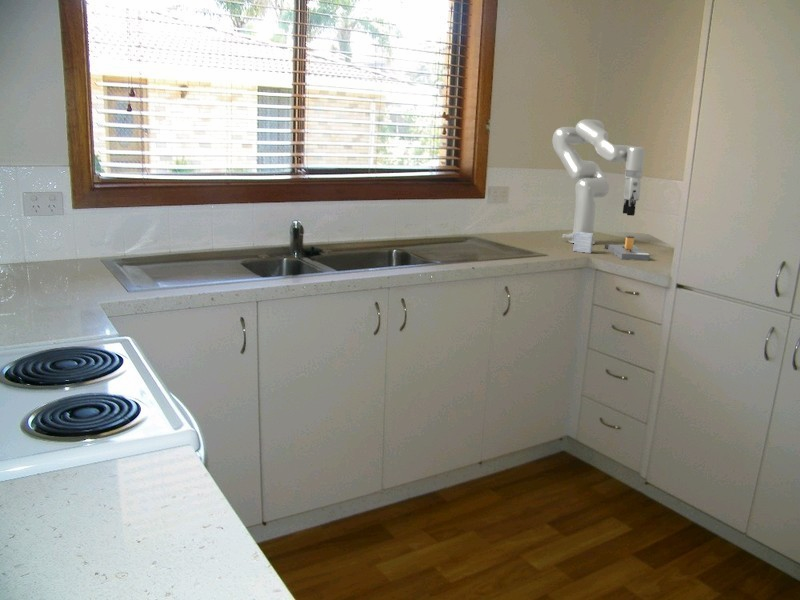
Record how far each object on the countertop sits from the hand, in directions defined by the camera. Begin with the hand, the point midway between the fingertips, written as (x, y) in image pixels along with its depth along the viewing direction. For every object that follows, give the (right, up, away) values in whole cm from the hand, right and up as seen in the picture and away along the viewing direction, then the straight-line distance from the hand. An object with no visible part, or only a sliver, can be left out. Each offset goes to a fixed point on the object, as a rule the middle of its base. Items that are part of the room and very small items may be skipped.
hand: (628, 214), depth 320 cm
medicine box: (-21, -18, 0) cm, 27 cm away
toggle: (-1, -19, -2) cm, 19 cm away
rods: (0, -15, +12) cm, 19 cm away
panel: (-1, -19, -2) cm, 19 cm away
